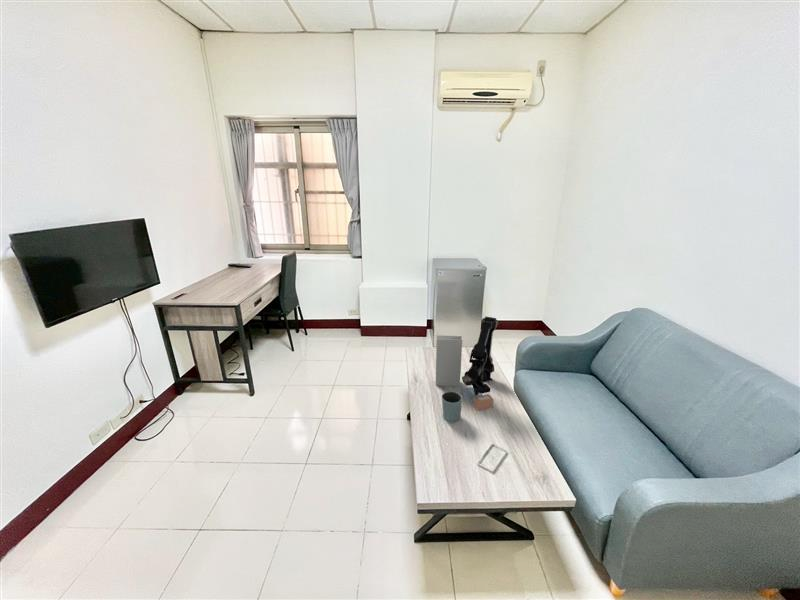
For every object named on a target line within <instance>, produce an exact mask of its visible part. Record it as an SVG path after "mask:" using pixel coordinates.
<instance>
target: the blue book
mask: <svg viewBox="0 0 800 600" xmlns="http://www.w3.org/2000/svg"><path fill="white" fill-rule="evenodd" d="M460 391H461V392H462V394H464V396H466V397H465V398H467V399H468V400H469V401H470V403H471V404H472V405H473V401H474V397H476V396H482V395H484V393H482V394H481V393H478V395H475V393H474V389H473V386H470V387H466V388H461V389H460Z"/></svg>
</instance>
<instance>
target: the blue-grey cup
mask: <svg viewBox="0 0 800 600" xmlns="http://www.w3.org/2000/svg"><path fill="white" fill-rule="evenodd" d="M462 402H463V396H462V395H461V393H459V392H457V391H453V390H451V391H445V392H444V393H442V395H441V404H442V417H443V419H444V421H446V422H448V423H457V422H459V421H460V419H461V412H462Z"/></svg>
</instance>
